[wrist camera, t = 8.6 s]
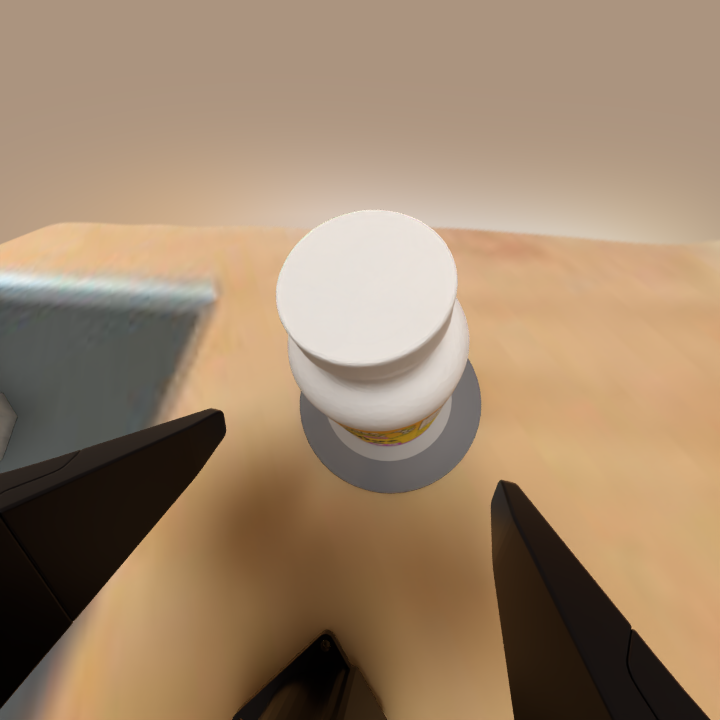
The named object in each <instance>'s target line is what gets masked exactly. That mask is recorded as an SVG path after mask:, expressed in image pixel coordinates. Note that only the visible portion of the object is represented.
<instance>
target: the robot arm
mask: <svg viewBox="0 0 720 720" xmlns="http://www.w3.org/2000/svg"><path fill="white" fill-rule="evenodd" d="M225 434H226V424H225V418H224V413H223V412H222V411H221V410H217V409H212V408H211V409H207V410H204V411H201V412H197V413H194V414H191V415H188V416H185V417H182V418H179V419H175V420H172V421H169V422H166V423H163V424H160V425H157V426H154V427H150V428H147V429H144V430H141V431H138V432H135V433H132V434H128V435H125V436H122V437H119V438H116V439H113V440H110V441H106V442H103V443H100V444H97V445H94V446H91V447H88V448H85V449H83V450H78V451H75V452H72V453H69V454H66V455H62V456H59V457H56V458H53V459H49V460H46V461H43V462H40V463H36V464H33V465H29V466H26V467H22V468H19V469H15V470H12V471H8V472H4V473H1V474H0V709H1V708H2V706H3V705H4V704H5V703H6V702H7V701H8V699H9V698H10V697H11V696H12V695H13V693H14V692H15V691H16V690H17V689H18V687H19V686H20V685H21V684H22V683H23V682H24V680H25V679H26V678H27V677H28V676H29V674H30V673H31V672H32V671H33V670H34V668H35V667H36V666H37V665H38V664H39V663H40V661H41V660H42V659H43V658H44V657H45V655H46V654H47V653H48V652H49V651H50V649H51V648H52V647H53V646H54V645H55V644H56V642H57V641H58V640H59V639H60V638H61V636H62V635H63V634H64V633H65V632H66V631H67V629H68V628H69V627H70V626H71V625H72V623H73V621H74V620H76V618H77V617H78V616H79V615H80V614H81V612H82V611H83V610H84V609H85V608H86V606H87V605H88V604H89V603H90V602H91V601H92V599H93V598H94V597H95V596H96V595H97V593H98V592H99V591H100V590H101V589H102V587H103V586H104V585H105V584H106V583H107V582H108V580H109V579H110V578H111V577H112V576H113V574H114V573H115V572H116V571H117V570H118V569H119V567H120V566H121V565H122V564H123V563H124V561H125V560H126V559H127V558H128V557H129V555H130V554H131V553H132V552H133V551H134V550H135V548H136V547H137V546H138V545H139V544H140V542H141V541H142V540H143V539H144V538H145V537H146V535H147V534H148V533H149V532H150V531H151V529H152V528H153V527H154V526H155V525H156V523H157V522H158V521H159V520H160V519H161V518H162V516H163V515H164V514H165V513H166V512H167V510H168V509H169V508H170V507H171V506H172V504H173V503H174V502H175V501H176V500H177V499H178V497H179V496H180V495H181V494H182V493H183V491H184V490H185V489H186V488H187V487H188V486H189V484H190V483H191V482H192V481H193V480H194V478H195V477H196V476H197V475H198V473H199V472H200V471H201V469H202V468H203V466H204V465H205V464H206V462H207V461H208V459H209V458H210V456H211V455H212V454H213V452H214V451H215V449H216V448H217V446H218V445H219V444H220V442H221V441H222V439H223V438H224V436H225ZM491 532H492V561H493V572H494V580H495V587H496V594H497V601H498V608H499V615H500V622H501V630H502V637H503V644H504V651H505V658H506V665H507V672H508V679H509V686H510V693H511V700H512V707H513V714H514V720H710V719H709V717H708V716H707V715H706V714H705V713H704V712H703V711H702V709H701V708H700V707H699V706H698V705H697V704H696V703H695V701H694V700H693V699H692V698H691V697H690V696H689V695H688V693H687V692H686V691H685V690H684V689H683V688H682V686H681V685H680V684H679V683H678V682H677V680H676V679H675V678H674V677H673V676H672V674H671V673H670V672H669V671H668V670H667V668H666V667H665V666H664V665H663V664H662V662H661V661H660V660H659V659H658V658H657V656H656V655H655V654H654V653H653V652H652V650H651V649H650V648H649V647H648V645H647V644H646V643H645V642H644V640H643V639H642V638H641V637H640V635H639V634H638V633H637V632H636V631H635V630H634V629H631V625H630V623H629V622H628V621H627V620H626V618H625V617H624V616H623V615H622V613H621V612H620V611H619V610H618V608H617V607H616V606H615V605H614V604H613V602H612V601H611V600H610V599H609V597H608V596H607V595H606V594H605V592H604V591H603V590H602V589H601V587H600V586H599V585H598V584H597V583H596V581H595V580H594V579H593V578H592V576H591V575H590V574H589V573H588V571H587V570H586V569H585V568H584V566H583V565H582V564H581V563H580V562H579V560H578V559H577V558H576V557H575V555H574V554H573V553H572V552H571V550H570V549H569V548H568V547H567V545H566V544H565V543H564V542H563V541H562V539H561V538H560V537H559V536H558V534H557V533H556V532H555V531H554V529H553V528H552V527H551V526H550V524H549V523H548V522H547V521H546V520H545V518H544V517H543V516H542V515H541V513H540V512H539V511H538V510H537V508H536V507H535V506H534V505H533V503H532V502H531V501H530V500H529V499H528V497H527V496H526V495H525V494H524V492H523V491H522V490H521V489H520V487H519V486H518V485H517V484H515V483H513V482H508V481H504V480H500V481H499V482H498V485H497V487H496V490H495V493H494V496H493V498H492V502H491ZM323 640H328V641H329V643H330V647H328V648H327V647H325V646H324V645H323ZM240 718H242V719H243V720H387V719H386V717H385V715H384V714H383V712H382V710H381V708H380V706H379V705H378V703H377V701H376V699H375V698H374V696H373V694H372V692H371V690H370V689H369V687H368V685H367V683H366V682H365V680H364V678H363V676H362V674H361V673H360V671H359V669H358V668H357V667H356V666H353V665H351V664H350V662H349V660H348V658H347V656H346V655H345V653H344V651H343V649H342V647H341V646H340V644H339V642H338V640H337V638H336V637H335V635H334V634H333V632H331V631H329V630H325V631H323V632H322V633H321V634H320V635H318V636H317V637H316V638H315V639H314V640H313V641H312V642H311V643H310V644H309V645H308V646H306V647H305V648H304V649H303V650H302V651H301V652H300V653H299V654H298V655H297V656H296V657H295V658H293V659H292V660H291V661H290V662H289V663H288V664H287V665H286V666H285V667H284V668H283V669H282V670H280V671H279V672H278V673H277V674H276V675H275V676H274V677H273V678H272V679H271V680H270V681H269V682H267V683H266V684H265V685H264V686H263V687H262V688H261V689H260V690H259V691H258V692H257V693H256V694H254V695H253V696H252V697H251V698H250V699H249V700H248V701H247V702H246V703H245V704H244V705H243V706H241V707H240V708H239V710H238V711H237V713H236V714H235V715H234V717H233V719H232V720H240Z"/></svg>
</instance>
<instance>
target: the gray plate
mask: <svg viewBox="0 0 720 720" xmlns="http://www.w3.org/2000/svg"><path fill="white" fill-rule="evenodd" d="M300 414H301V421H302V425H303V429H304V432H305V435H306V437H307V440H308V442H309V444H310V446H311V447H312V449H313V451H314V453H315V454H316V455H317V457H318V458H319V459H320V460H321V462H322V463H323V464H324V465H325V466H326V467H327V468H328V469H329V470H330V471H331V472H333V473H334V474H335V475H337V476H338V477H339V478H341V479H342V480H344V481H346V482H348V483H350V484H352V485H354V486H357V487H359V488H362V489H365V490H369V491H374V492H380V493H400V492H407V491H412V490H416V489H419V488H422V487H425V486H427V485H430V484H432V483H433V482H435V481H437V480H439V479H440V478H442V477H443V476H445V475H446V474H447V473H448V472H450V471H451V470H452V469H453V468H454V467H455V466H456V465H457V464H458V463H459V462H460V461H461V460H462V458H463V457H464V455H465V454H466V453H467V451H468V450H469V448H470V446H471V444H472V442H473V440H474V438H475V435H476V432H477V429H478V426H479V421H480V415H481V395H480V388H479V384H478V380H477V377H476V374H475V371H474V369H473V367H472V365H471V363H470V361H469V359H467V363H466V366H465V369H464V372H463V374H462V376H461V378H460V380H459V382H458V384H457V386H456V388H455V389H454V391H453V393H452V394H451V396H450V397H449V399H448V400H447V401H446V403H445V404H444V406H443V408H442V409H441V411H440V412H439V414H438V415H437V417H436V418H435V420H434V421H433V422H432V424H431V425H430V426H429V428H428V429H427V430H426V431H425V432H424V433H423V434H421V435H420V436H419V437H417V438H416V439H414V440H412V441H410V442H408V443H405V444H402V445H398V446H378V445H373V444H370V443H368V442H365V441H363V440H361V439H359V438H358V437H356V436H355V435H353V434H351V433H350V432H349V431H347V430H346V429H345V428H343V427H342V426H340V425H339V424H338V423H336V422H335V421H333V420H332V419H330V418H329V417H327V416H326V415H325V414H323V413H322V412H321V411H319V410H318V409H317V408H316V407H315V406H314V405H313V404H312V403H311V402H310V401H309V400H308V399H307V398H306V397H305V395H304V394H303V393H302V391H301V395H300Z"/></svg>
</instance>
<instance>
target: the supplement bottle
mask: <svg viewBox="0 0 720 720" xmlns="http://www.w3.org/2000/svg"><path fill="white" fill-rule="evenodd" d="M457 285H458V279H457V270H456V265H455V262H454V259H453V256H452V254H451V252H450V250H449V248H448V247H447V245H446V243H445V242H444V241H443V239H442V238H441V237H440V236H439V235H438V234H437V233H436V232H435V231H434V230H433V229H431V228H430V227H429V226H427V225H426V224H424V223H423V222H421V221H419V220H417V219H415V218H413V217H411V216H408V215H405V214H401V213H397V212H393V211H386V210H363V211H356V212H351V213H347V214H344V215H341V216H337V217H334V218H332V219H330V220H328V221H326V222H324V223H322V224H321V225H319V226H318V227H316V228H314V229H313V230H311V231H310V232H309V233H308V234H307V235H305V236H304V237H303V238H302V239H301V240H300V241H299V242H298V243H297V244H296V246H295V247H294V248H293V249H292V251H291V252H290V254H289V255H288V257H287V258H286V260H285V262H284V264H283V267H282V269H281V271H280V274H279V277H278V281H277V287H276V303H277V309H278V313H279V317H280V320H281V322H282V324H283V326H284V328H285V330H286V331H287V333H288V356H289V363H290V367H291V370H292V373H293V376H294V378H295V380H296V383H297V385H298V386H299V388H300V390H301V391H302V393H303V394H304V395H305V397H306V398H307V399H308V400H309V401H310V402H311V403H312V404H313V405H314V406H315V407H316V408H317V409H318V410H319V411H321V412H322V413H323V414H325V415H326V416H327V417H329V418H330V419H332V420H333V421H335V422H336V423H338V424H339V425H340V426H342V427H343V428H345V429H346V430H347V431H349V432H350V433H351V434H353V435H355V436H356V437H358V438H359V439H361V440H363V441H365V442H368V443H370V444H373V445H378V446H398V445H402V444H405V443H408V442H410V441H412V440H414V439H416V438H417V437H419V436H420V435H421V434H423V433H424V432H425V431H426V430H427V429H428V428H429V426H430V425H431V424H432V422H433V421H434V420H435V418H436V417H437V415H438V414H439V412H440V411H441V409H442V408H443V406H444V404H445V403H446V401H447V400H448V399H449V397H450V396H451V394H452V393H453V391H454V389H455V388H456V386H457V384H458V382H459V380H460V378H461V376H462V374H463V372H464V369H465V366H466V363H467V359H468V354H469V329H468V325H467V320H466V317H465V314H464V312H463V309H462V307H461V305H460V303H459V301H458V299H457V298H456V295H457Z"/></svg>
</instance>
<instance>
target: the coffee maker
mask: <svg viewBox="0 0 720 720" xmlns="http://www.w3.org/2000/svg"><path fill="white" fill-rule="evenodd" d="M16 419H17V415H16V414H15V412H14V410H13V409H12V407H11V405H10V404H9V402H8V400H7V399H6V397H5V395H4V394H3V393H0V461H1V460H2V459H3V456H4V454H5V451H6V448H7V445H8V442H9V439H10V436H11V433H12V430H13V427H14V425H15V422H16Z"/></svg>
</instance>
